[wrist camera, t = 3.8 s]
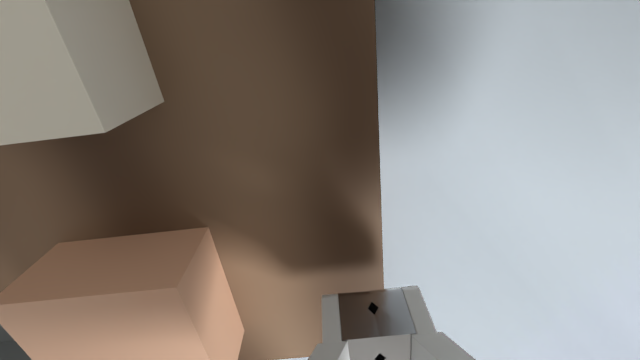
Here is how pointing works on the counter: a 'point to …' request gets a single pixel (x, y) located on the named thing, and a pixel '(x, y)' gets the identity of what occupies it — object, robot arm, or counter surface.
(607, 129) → the counter surface
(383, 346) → the robot arm
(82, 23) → the tile cream
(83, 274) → the tile terracotta
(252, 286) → the board
